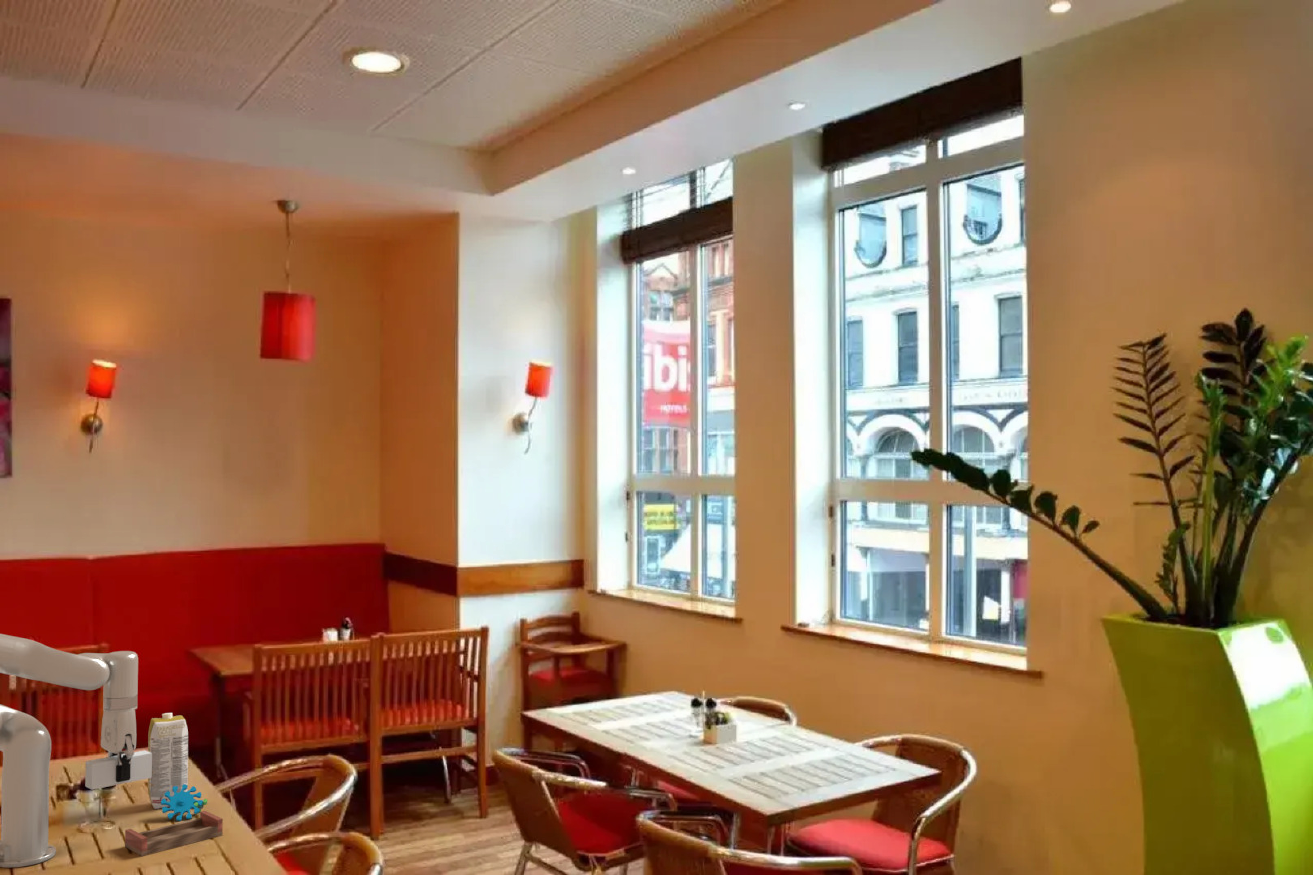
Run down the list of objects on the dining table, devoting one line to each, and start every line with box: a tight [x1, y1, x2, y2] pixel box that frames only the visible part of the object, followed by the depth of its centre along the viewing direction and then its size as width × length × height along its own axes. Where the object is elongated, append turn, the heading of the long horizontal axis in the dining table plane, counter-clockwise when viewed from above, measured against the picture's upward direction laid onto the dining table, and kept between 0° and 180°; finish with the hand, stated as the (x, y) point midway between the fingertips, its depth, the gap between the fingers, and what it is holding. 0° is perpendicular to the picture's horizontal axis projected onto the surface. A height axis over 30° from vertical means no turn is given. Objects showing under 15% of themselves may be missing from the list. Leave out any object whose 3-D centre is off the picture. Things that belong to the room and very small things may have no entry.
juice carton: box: [147, 712, 189, 810], centre depth 295 cm, size 9×8×24 cm
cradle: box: [124, 810, 224, 857], centre depth 267 cm, size 19×9×4 cm, turn 138°
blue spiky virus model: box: [161, 784, 208, 822], centre depth 286 cm, size 11×6×10 cm
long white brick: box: [84, 749, 152, 790], centre depth 268 cm, size 14×4×6 cm, turn 138°
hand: (119, 778), depth 268 cm, fingers closed on long white brick, 4 cm apart
